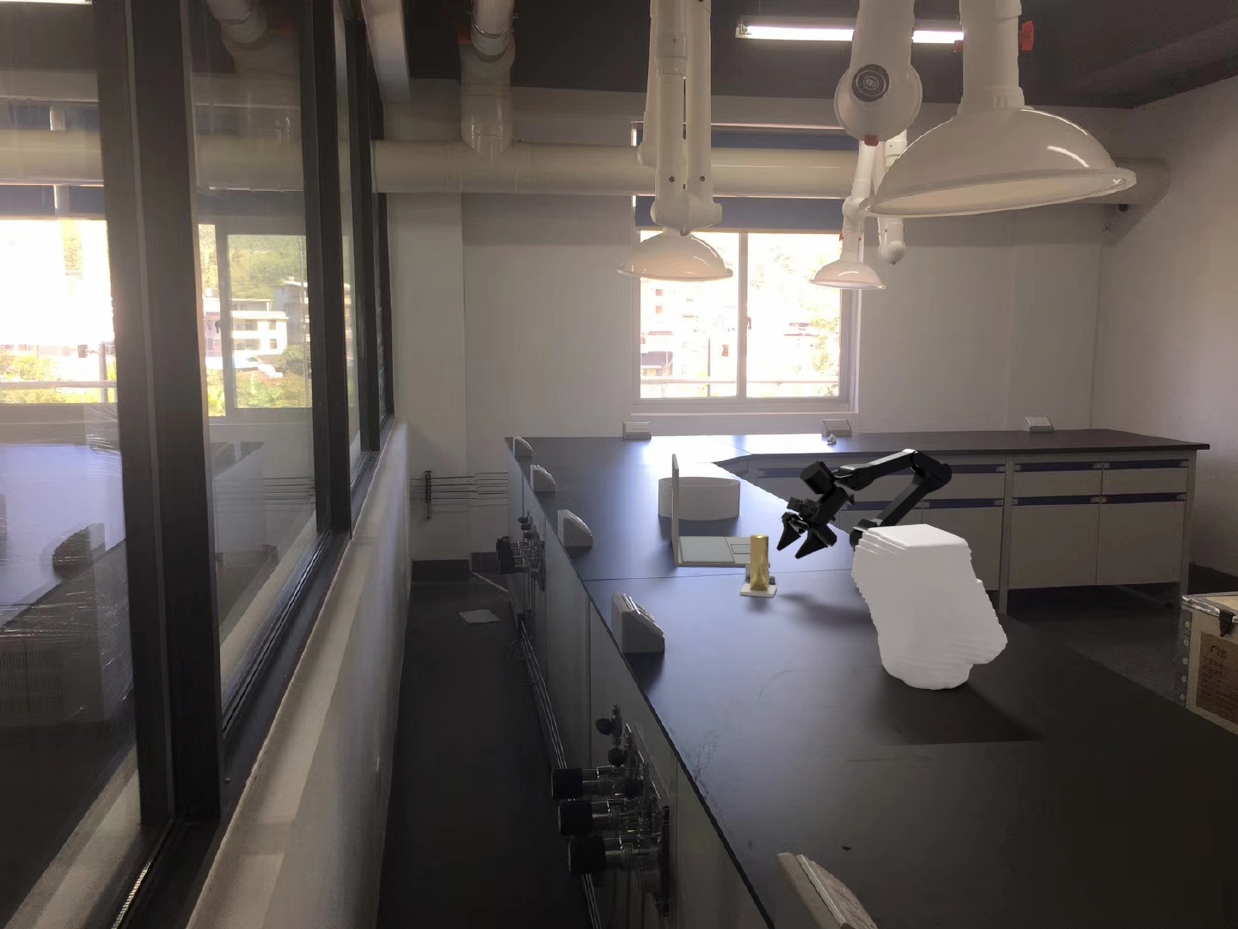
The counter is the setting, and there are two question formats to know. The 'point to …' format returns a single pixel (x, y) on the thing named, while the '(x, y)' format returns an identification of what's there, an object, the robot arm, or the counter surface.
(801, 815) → the counter surface
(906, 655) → the paper stack
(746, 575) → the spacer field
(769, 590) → the tile
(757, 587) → the brass tube
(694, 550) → the laptop
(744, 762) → the counter surface
